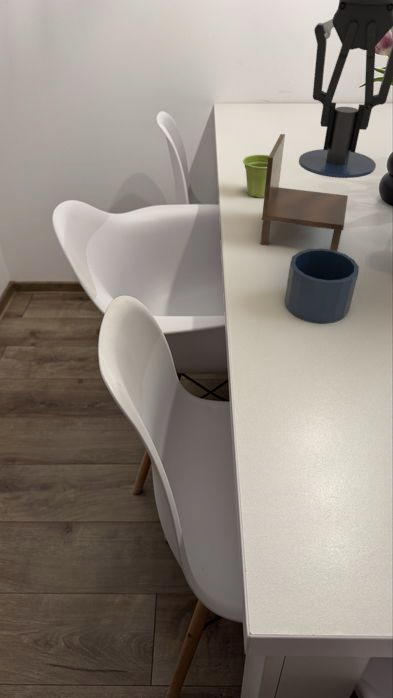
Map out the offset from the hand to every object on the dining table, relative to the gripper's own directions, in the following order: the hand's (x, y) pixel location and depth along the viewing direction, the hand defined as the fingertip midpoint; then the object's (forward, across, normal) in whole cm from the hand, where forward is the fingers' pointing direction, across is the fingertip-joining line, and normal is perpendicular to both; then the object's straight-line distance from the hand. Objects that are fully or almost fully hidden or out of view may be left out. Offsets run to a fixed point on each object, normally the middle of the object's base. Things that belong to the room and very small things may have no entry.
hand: (339, 148), depth 80 cm
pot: (+25, +1, -8) cm, 27 cm away
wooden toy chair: (+25, -4, +20) cm, 32 cm away
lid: (+3, 0, 0) cm, 3 cm away
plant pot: (+26, -18, +40) cm, 51 cm away
